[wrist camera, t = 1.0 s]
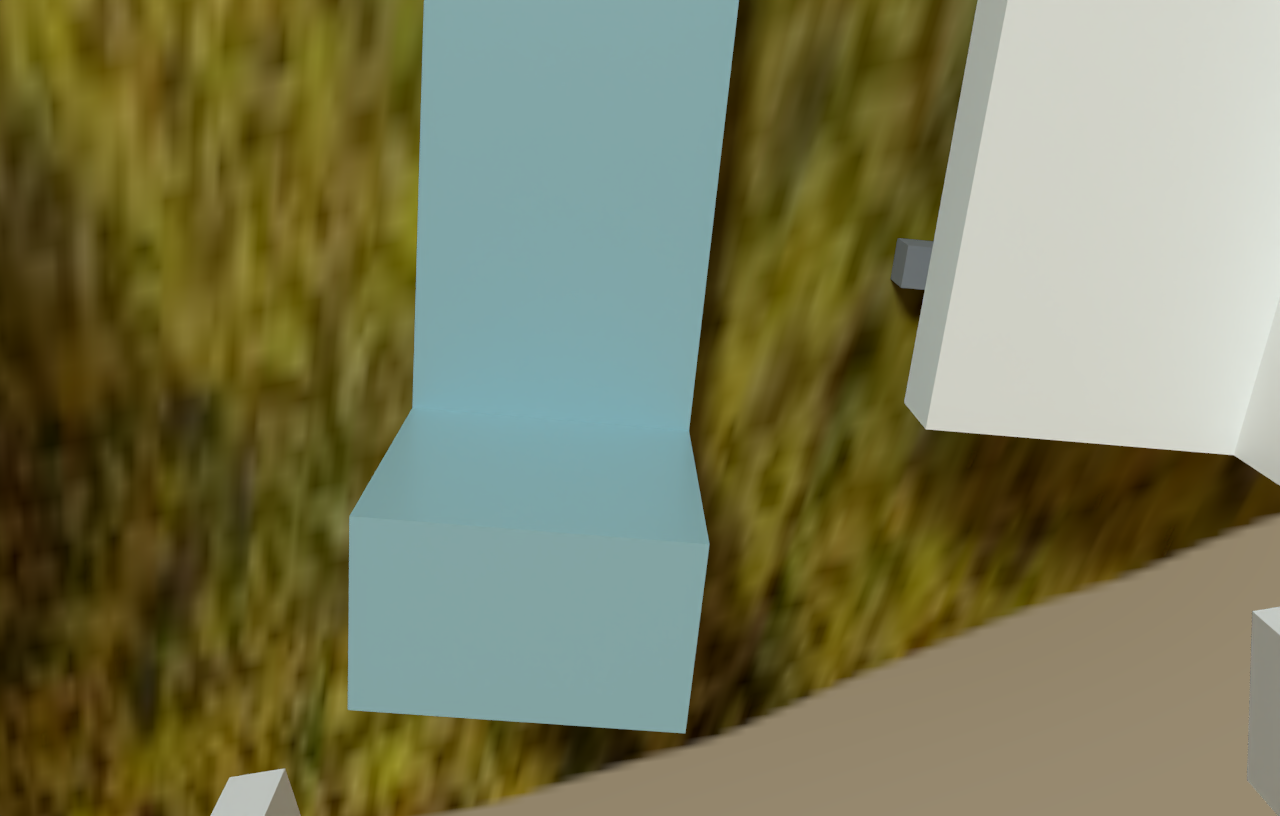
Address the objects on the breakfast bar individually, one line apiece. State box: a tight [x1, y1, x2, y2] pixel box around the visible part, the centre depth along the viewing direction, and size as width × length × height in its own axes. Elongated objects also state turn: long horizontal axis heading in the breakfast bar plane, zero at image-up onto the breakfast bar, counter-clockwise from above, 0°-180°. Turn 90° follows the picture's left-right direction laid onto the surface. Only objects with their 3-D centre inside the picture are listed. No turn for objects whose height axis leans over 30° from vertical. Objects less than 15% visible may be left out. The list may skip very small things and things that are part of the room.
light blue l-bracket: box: [348, 0, 739, 733], centre depth 26 cm, size 23×8×9 cm, turn 175°
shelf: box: [891, 0, 1280, 485], centre depth 25 cm, size 10×16×10 cm, turn 175°
